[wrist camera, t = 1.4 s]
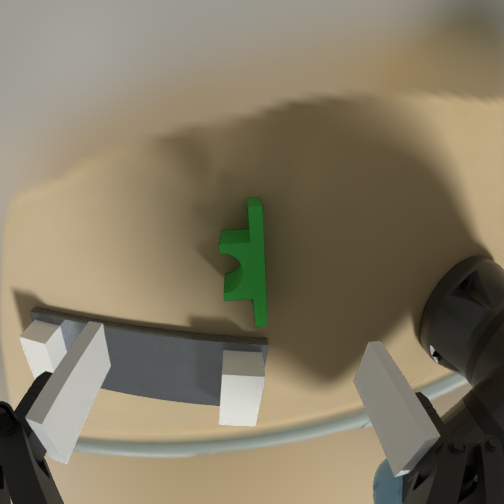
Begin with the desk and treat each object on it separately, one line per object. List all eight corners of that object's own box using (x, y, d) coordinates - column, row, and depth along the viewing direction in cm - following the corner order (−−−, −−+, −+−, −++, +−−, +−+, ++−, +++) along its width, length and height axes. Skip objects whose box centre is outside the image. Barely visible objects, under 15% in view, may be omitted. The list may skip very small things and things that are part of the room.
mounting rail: (267, 338, 31) (272, 369, 26) (256, 400, 34) (258, 431, 29) (35, 306, 28) (13, 328, 24) (53, 368, 32) (38, 391, 27)
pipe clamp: (218, 199, 26) (215, 208, 22) (258, 197, 26) (262, 205, 22) (228, 305, 29) (227, 329, 25) (263, 303, 29) (267, 326, 25)
